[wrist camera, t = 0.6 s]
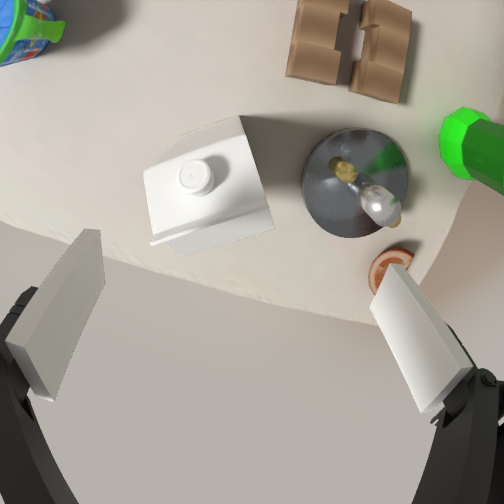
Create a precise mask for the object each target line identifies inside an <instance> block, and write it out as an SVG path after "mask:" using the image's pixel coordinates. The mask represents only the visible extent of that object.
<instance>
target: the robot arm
mask: <svg viewBox="0 0 504 504" xmlns="http://www.w3.org/2000/svg"><path fill="white" fill-rule="evenodd" d="M104 285H105V275H104V266H103V258H102V246H101V234H100V230H94V229H84V230H83V231H82V232H81V233H80V235H79V236H78V237H77V238H76V239H75V241H74V242H73V243H72V244H71V246H70V247H69V248H68V249H67V251H66V252H65V253H64V255H63V256H62V257H61V258H60V260H59V261H58V262H57V264H56V265H55V266H54V268H53V269H52V270H51V272H50V273H49V274H48V276H47V277H46V279H45V280H44V281H43V283H42V284H41V285H40V287H39V288H37V287H32V286H31V287H30V288H29V289H27V290H26V291H25V292H23V293H22V294H21V295H20V297H19V298H18V299H17V301H16V302H15V305H14V306H13V307H12V308H11V309H10V311H9V313H8V314H7V316H6V317H5V318H4V320H3V322H2V323H1V325H0V493H1V495H2V498H3V500H4V502H5V504H79V503H78V502H77V500H76V498H75V497H74V495H73V493H72V491H71V490H70V488H69V486H68V484H67V483H66V481H65V479H64V477H63V475H62V473H61V472H60V470H59V468H58V466H57V464H56V462H55V460H54V458H53V456H52V454H51V451H50V449H49V447H48V445H47V443H46V440H45V438H44V436H43V433H42V431H41V429H40V426H39V424H38V421H37V419H36V416H35V413H34V411H33V408H32V405H31V402H30V400H29V398H28V396H27V392H28V390H29V388H30V387H31V389H32V390H33V392H34V393H35V395H36V396H38V397H41V398H44V399H47V400H50V401H53V402H54V401H55V399H56V396H57V393H58V390H59V388H60V385H61V382H62V380H63V377H64V374H65V372H66V369H67V367H68V364H69V362H70V359H71V357H72V354H73V352H74V349H75V347H76V345H77V343H78V340H79V338H80V336H81V333H82V331H83V329H84V327H85V325H86V322H87V320H88V318H89V316H90V314H91V312H92V309H93V307H94V305H95V303H96V301H97V299H98V297H99V295H100V293H101V291H102V289H103V287H104ZM369 308H370V310H371V311H372V313H373V315H374V317H375V319H376V321H377V323H378V325H379V327H380V329H381V330H382V333H383V334H384V336H385V338H386V340H387V342H388V344H389V346H390V349H391V350H392V352H393V355H394V357H395V359H396V361H397V363H398V365H399V367H400V369H401V371H402V373H403V375H404V378H405V380H406V382H407V384H408V386H409V388H410V391H411V393H412V395H413V397H414V400H415V402H416V404H417V406H418V408H419V411H420V413H425V412H429V411H433V410H434V409H435V408H436V407H437V406H438V405H439V404H440V403H441V402H442V401H443V403H444V405H445V407H444V408H443V409H442V410H441V411H440V412H439V413H438V414H437V415H436V416H435V417H434V418H433V419H432V420H431V422H430V423H431V424H432V423H433V422H434V421H435V420H436V419H439V420H438V422H437V423H436V424H435V426H437V428H436V432H435V436H434V440H433V443H432V447H431V450H430V453H429V457H428V460H427V463H426V466H425V469H424V472H423V475H422V478H421V481H420V483H419V486H418V489H417V491H416V494H415V496H414V499H413V501H412V504H504V423H503V424H502V425H500V426H499V424H498V421H499V420H500V419H501V418H502V417H503V416H504V381H498V380H496V377H495V376H494V375H493V374H492V373H491V372H490V371H489V370H487V369H484V368H481V369H478V368H477V366H476V365H475V363H474V361H473V360H472V358H471V357H470V355H469V354H468V352H467V350H466V349H465V348H464V346H462V343H461V341H460V340H459V339H458V337H457V335H456V334H455V332H454V331H453V329H451V327H450V326H449V325H447V324H446V323H445V322H444V321H443V319H442V318H441V316H440V315H439V313H438V312H437V311H436V309H435V308H434V307H433V305H432V304H431V302H430V301H429V299H428V298H427V297H426V296H425V294H424V293H423V291H422V290H421V289H420V288H419V286H418V285H417V283H416V282H415V281H414V280H413V278H412V277H411V276H410V274H409V273H408V272H407V271H406V269H405V268H404V267H403V265H401V264H393V263H390V264H389V266H388V268H387V270H386V273H385V275H384V277H383V279H382V282H381V284H380V286H379V288H378V290H377V293H376V295H375V297H374V299H373V301H372V303H371V305H370V307H369Z"/></svg>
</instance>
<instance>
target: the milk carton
mask: <svg viewBox="0 0 504 504" xmlns="http://www.w3.org/2000/svg"><path fill="white" fill-rule="evenodd" d="M143 176H144V183H145V190H146V196H147V202H148V208H149V214H150V220H151V225H152V231H153V237H152V240H151V242H150V245H151V246H153V245H156V244H159V243H163V244H164V245H166V246H167V247H169V248H170V249H171V250H173V251H174V252H176V253H177V254H178V255H180V256H181V257H186V256H189V255H192V254H195V253H199V252H202V251H205V250H208V249H211V248H215V247H218V246H221V245H224V244H228V243H231V242H234V241H237V240H241V239H244V238H247V237H250V236H254V235H257V234H260V233H264V232H267V231H270V230H273V229H275V226H274V223H273V219H272V216H271V213H270V209H269V206H268V203H267V200H266V196H265V193H264V190H263V187H262V184H261V181H260V177H259V174H258V171H257V168H256V165H255V162H254V159H253V156H252V153H251V150H250V147H249V143H248V140H247V137H246V134H245V132H244V129H243V126H242V123H241V120H240V117H239V116H235V117H231V118H228V119H225V120H222V121H219V122H216V123H213V124H210V125H207V126H205V127H202V128H199V129H196V130H193V131H191V132H188V133H185V134H183V135H180V136H179V137H177V138H176V139H175V140H174V141H173V142H172V143H171V144H170V145H169V146H168V147H167V148H166V149H165V150H164V151H163V152H162V153H161V154H160V155H159V156H158V157H157V158H156V159H155V160H154V161H153V162H152V163H151V164H150V165H149V166H148V167H147V168H146V169H145V171H144V172H143Z"/></svg>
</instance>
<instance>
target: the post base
mask: <svg viewBox="0 0 504 504" xmlns="http://www.w3.org/2000/svg"><path fill="white" fill-rule="evenodd" d="M407 185H408V173H407V167H406V163H405V161H404V158H403V156H402V154H401V152H400V151H399V149H398V148H397V147H396V145H395V144H394V143H393V142H392V141H390V140H389V139H388V138H386V137H385V136H383V135H381V134H379V133H376V132H374V131H371V130H368V129H363V128H348V129H343V130H340V131H337V132H335V133H333V134H331V135H329V136H327V137H326V138H325V139H323V140H322V141H321V142H320V143H319V144H318V145H317V146H316V147H315V148H314V150H313V151H312V152H311V154H310V155H309V157H308V159H307V161H306V164H305V166H304V169H303V173H302V180H301V189H302V196H303V200H304V203H305V205H306V208H307V209H308V211H309V213H310V214H311V216H312V218H313V219H314V220H315V222H316V223H317V224H318V225H319V226H320V227H321V228H323V229H324V230H326V231H327V232H329V233H331V234H333V235H336V236H339V237H344V238H358V237H363V236H366V235H369V234H372V233H374V232H376V231H378V230H379V229H381V228H383V227H384V226H389V227H390V228H395V227H397V226H398V225H399V224H400V222H401V215H400V214H401V208H402V207H401V205H402V203H403V201H404V198H405V195H406V191H407Z"/></svg>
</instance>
